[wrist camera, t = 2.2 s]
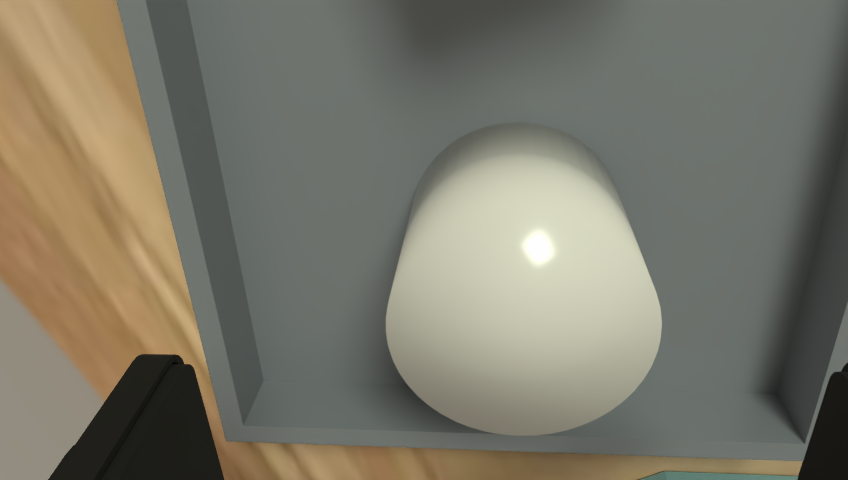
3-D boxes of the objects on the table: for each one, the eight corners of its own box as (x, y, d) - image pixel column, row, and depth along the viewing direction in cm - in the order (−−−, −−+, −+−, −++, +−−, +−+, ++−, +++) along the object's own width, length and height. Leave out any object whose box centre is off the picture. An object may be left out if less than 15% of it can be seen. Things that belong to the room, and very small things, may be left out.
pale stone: (629, 120, 16) (680, 212, 11) (610, 308, 18) (645, 440, 14) (406, 123, 16) (375, 212, 12) (417, 305, 19) (394, 431, 14)
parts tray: (1124, -845, 9) (1320, -1067, 7) (787, 396, 20) (824, 461, 17) (28, -686, 11) (-89, -827, 9) (253, 382, 21) (226, 440, 19)
